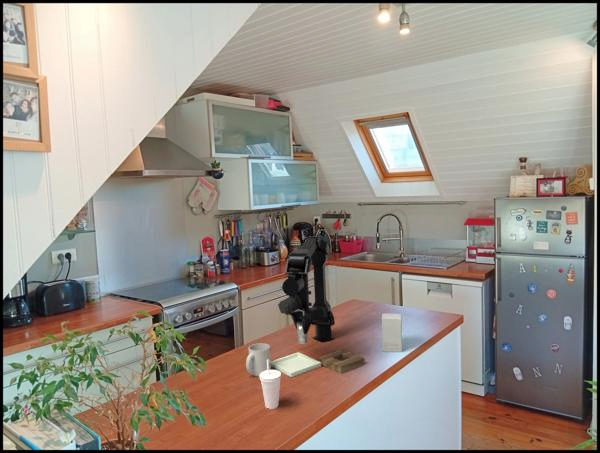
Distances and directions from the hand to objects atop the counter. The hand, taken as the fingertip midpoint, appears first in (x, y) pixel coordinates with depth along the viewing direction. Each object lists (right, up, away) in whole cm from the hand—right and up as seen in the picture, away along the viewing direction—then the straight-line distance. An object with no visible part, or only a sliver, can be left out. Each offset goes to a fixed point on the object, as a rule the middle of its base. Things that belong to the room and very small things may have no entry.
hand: (302, 332), depth 160 cm
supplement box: (+34, -10, +14) cm, 38 cm away
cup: (-15, -13, -3) cm, 20 cm away
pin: (0, -3, 0) cm, 3 cm away
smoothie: (-9, -16, -26) cm, 32 cm away
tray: (-2, -12, +1) cm, 12 cm away
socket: (+14, -11, +1) cm, 18 cm away
